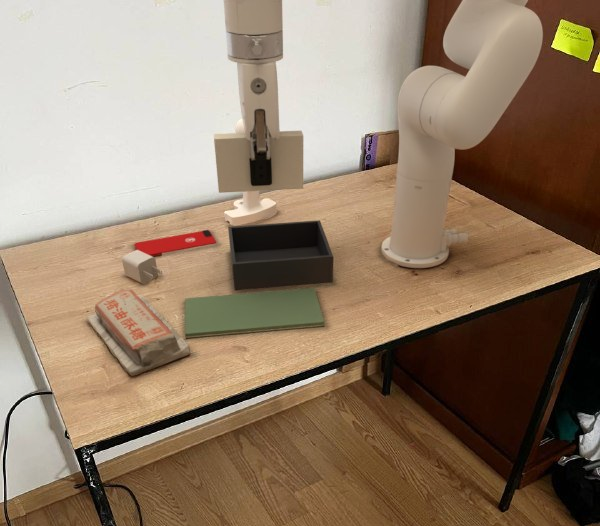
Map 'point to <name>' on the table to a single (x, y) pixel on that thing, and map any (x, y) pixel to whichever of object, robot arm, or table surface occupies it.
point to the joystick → (249, 202)
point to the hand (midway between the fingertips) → (260, 180)
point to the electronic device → (175, 243)
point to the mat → (252, 312)
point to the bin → (280, 255)
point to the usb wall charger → (140, 266)
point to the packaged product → (136, 332)
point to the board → (236, 163)
